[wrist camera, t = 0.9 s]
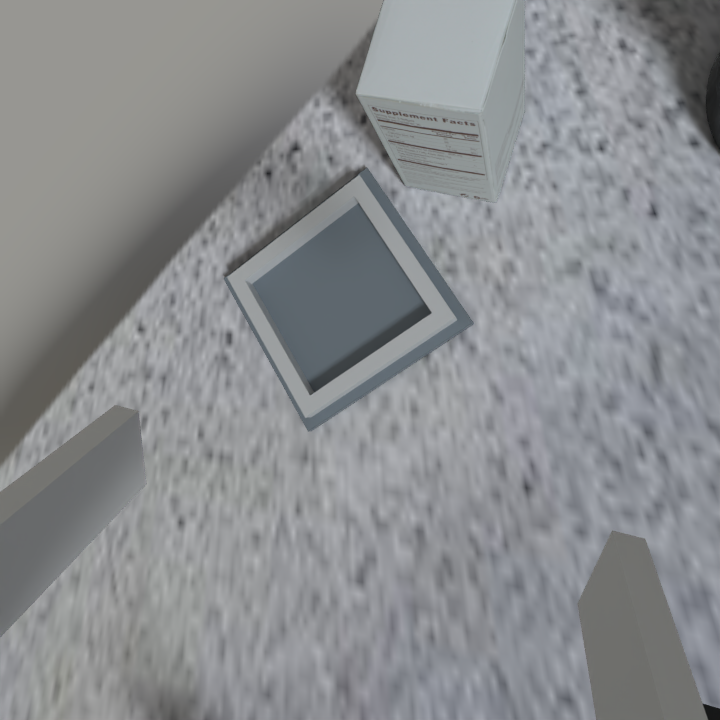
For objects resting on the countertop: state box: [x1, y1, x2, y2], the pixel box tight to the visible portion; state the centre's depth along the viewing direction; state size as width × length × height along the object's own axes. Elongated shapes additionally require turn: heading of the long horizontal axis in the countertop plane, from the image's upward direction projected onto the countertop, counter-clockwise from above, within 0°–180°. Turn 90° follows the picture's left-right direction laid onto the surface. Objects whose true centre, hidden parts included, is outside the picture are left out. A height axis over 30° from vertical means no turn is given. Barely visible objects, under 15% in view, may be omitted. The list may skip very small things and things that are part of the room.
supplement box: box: [355, 0, 525, 203], centre depth 32 cm, size 7×7×13 cm
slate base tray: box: [224, 168, 474, 431], centre depth 39 cm, size 15×15×2 cm
